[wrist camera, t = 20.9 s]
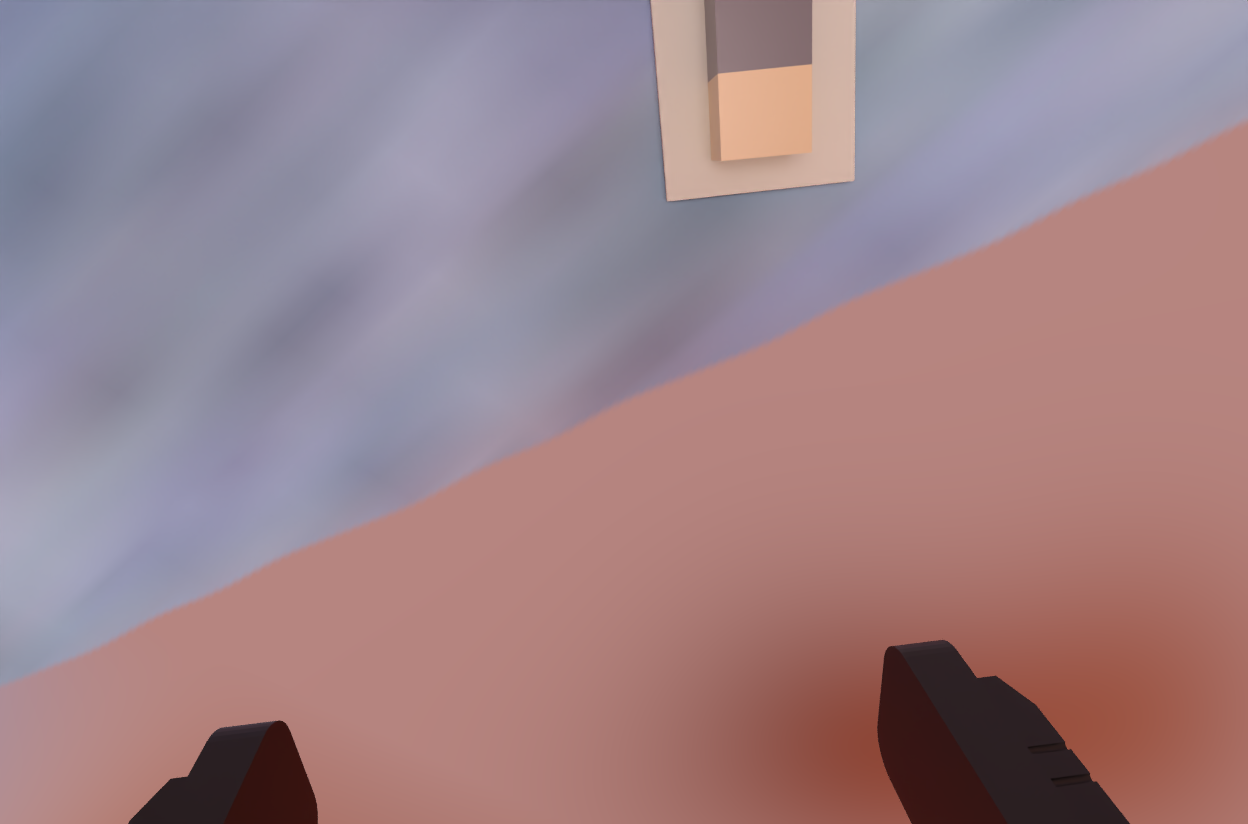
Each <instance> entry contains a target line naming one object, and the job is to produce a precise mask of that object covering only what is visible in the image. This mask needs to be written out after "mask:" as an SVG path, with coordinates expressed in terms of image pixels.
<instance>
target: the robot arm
mask: <svg viewBox="0 0 1248 824" xmlns="http://www.w3.org/2000/svg"><path fill="white" fill-rule="evenodd" d="M877 729H878V730H877V731H878V742H879V747H880V752H881V756H882V759H883V763H884V766H885V768H886V771H887V774H888V776H889V778H890V780H891V782H892V784H893V786H894V788H895V790H896V793H897V795H898V797H899V799H900V801H901V803H902V805H903V807H904V809H905V811H906V813H907V815H908V817H909V819H910V821H911V823H912V824H1130V823H1129V822H1128V821H1127V819H1126V818H1125V817H1124V816H1123V815H1122V813H1121V812H1120V811H1119V809H1118V808H1117V807H1116V806H1115V804H1114V803H1113V802H1112V801H1111V799H1110V798H1109V797H1108V795H1107V794H1106V793H1105V792H1104V791H1103V789H1102V788H1101V787H1100V785H1099V784H1098V783H1097V782H1093V781H1092V779H1091V777H1090V773H1089V771H1088V770H1087V769H1086V768H1085V766H1084V765H1083V764H1082V763H1081V761H1080V760H1079V759H1078V758H1077V756H1076V755H1075V754H1074V753H1073V751H1072V750H1071V749H1070V750H1068V749H1067V748H1066V746H1065V741H1064V740H1063V739H1062V737H1061V736H1060V735H1059V734H1058V732H1057V731H1056V730H1055V729H1054V727H1053V726H1052V725H1051V724H1050V722H1049V721H1048V720H1047V718H1046V717H1045V716H1044V715H1043V713H1042V712H1041V711H1040V710H1039V709H1038V707H1037V706H1036V705H1035V704H1034V703H1032V702H1031V701H1030V700H1028V699H1027V698H1026V697H1024V696H1023V695H1021V694H1020V693H1018V692H1017V691H1016V690H1015V689H1013V688H1012V687H1010V686H1009V685H1008V684H1006V683H1005V682H1003V681H1002V680H1001V679H1000V678H998V677H997V676H990V677H983V678H977V677H976V676H975V675H974V673H973V672H972V671H971V669H970V668H969V666H968V665H967V664H966V662H965V661H964V660H963V658H962V657H961V655H960V654H959V653H958V651H957V650H956V649H955V648H954V646H953V645H951V644H950V643H949V642H948V641H945V640H938V641H930V642H923V643H914V644H907V645H899V646H890V647H888V648H887V650H886V652H885V656H884V664H883V674H882V684H881V694H880V704H879V715H878V726H877ZM128 824H318V811H317V803H316V799H315V795H314V793H313V790H312V787H311V785H310V782H309V779H308V777H307V774H306V772H305V769H304V766H303V764H302V761H301V758H300V756H299V753H298V750H297V748H296V745H295V743H294V740H293V737H292V735H291V732H290V730H289V728H288V726H287V725H286V723H284V722H283V721H272V722H264V723H257V724H248V725H240V726H232V727H224V728H220V729H218V730H216V731H215V732H214V733H213V734H212V735H211V736H210V738H209V739H208V741H207V742H206V744H205V746H204V748H203V750H202V752H201V753H200V755H199V757H198V759H197V761H196V762H195V764H194V766H193V768H192V770H191V771H190V773H189V775H188V777H181V778H173V779H170V780H169V781H168V782H167V783H166V784H165V785H164V786H163V787H162V788H161V789H160V790H159V791H158V792H157V793H156V794H155V795H154V796H153V797H152V798H151V799H150V800H149V801H148V803H147V804H146V805H145V806H144V807H143V808H142V809H141V810H140V811H139V812H138V813H137V814H136V815H135V816H134V817H133V818H132V819H131V820H130V821H129V823H128Z"/></svg>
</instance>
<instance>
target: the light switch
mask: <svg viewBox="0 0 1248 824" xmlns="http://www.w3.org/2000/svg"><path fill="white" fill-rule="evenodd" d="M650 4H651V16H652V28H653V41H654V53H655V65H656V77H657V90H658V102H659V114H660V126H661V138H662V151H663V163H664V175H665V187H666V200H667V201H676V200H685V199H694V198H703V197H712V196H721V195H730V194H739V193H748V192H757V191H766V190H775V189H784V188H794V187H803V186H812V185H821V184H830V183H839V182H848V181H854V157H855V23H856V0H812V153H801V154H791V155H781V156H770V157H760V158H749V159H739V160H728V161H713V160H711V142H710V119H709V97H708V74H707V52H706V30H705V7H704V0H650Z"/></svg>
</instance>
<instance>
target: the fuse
mask: <svg viewBox="0 0 1248 824" xmlns="http://www.w3.org/2000/svg"><path fill="white" fill-rule="evenodd" d="M704 7H705V30H706V52H707V74H708V97H709V119H710V142H711V160H713V161H728V160H739V159H749V158H760V157H770V156H781V155H791V154H801V153H812V0H704Z"/></svg>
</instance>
